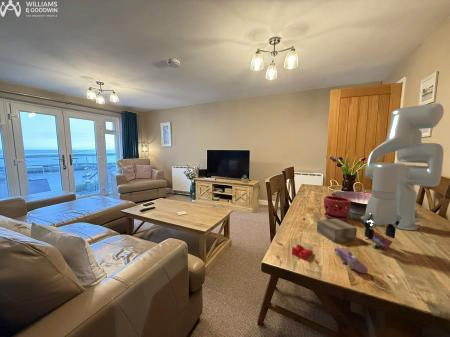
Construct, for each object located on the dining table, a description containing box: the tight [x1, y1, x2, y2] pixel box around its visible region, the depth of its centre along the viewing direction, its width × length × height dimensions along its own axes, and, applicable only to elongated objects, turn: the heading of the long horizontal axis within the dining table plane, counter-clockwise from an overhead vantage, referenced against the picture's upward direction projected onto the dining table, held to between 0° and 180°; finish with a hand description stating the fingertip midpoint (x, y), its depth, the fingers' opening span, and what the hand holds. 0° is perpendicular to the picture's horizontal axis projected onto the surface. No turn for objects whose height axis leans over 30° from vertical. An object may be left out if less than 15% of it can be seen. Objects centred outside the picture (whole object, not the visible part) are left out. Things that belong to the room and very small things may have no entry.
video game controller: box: [333, 245, 369, 274], centre depth 64 cm, size 10×5×7 cm, turn 5°
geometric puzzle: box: [367, 230, 393, 251], centre depth 76 cm, size 7×7×8 cm
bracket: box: [291, 244, 314, 261], centre depth 72 cm, size 6×5×3 cm
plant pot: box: [323, 195, 352, 222], centre depth 108 cm, size 13×13×12 cm
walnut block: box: [316, 218, 358, 244], centre depth 87 cm, size 11×11×6 cm
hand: (379, 237), depth 76 cm, fingers open, 9 cm apart
